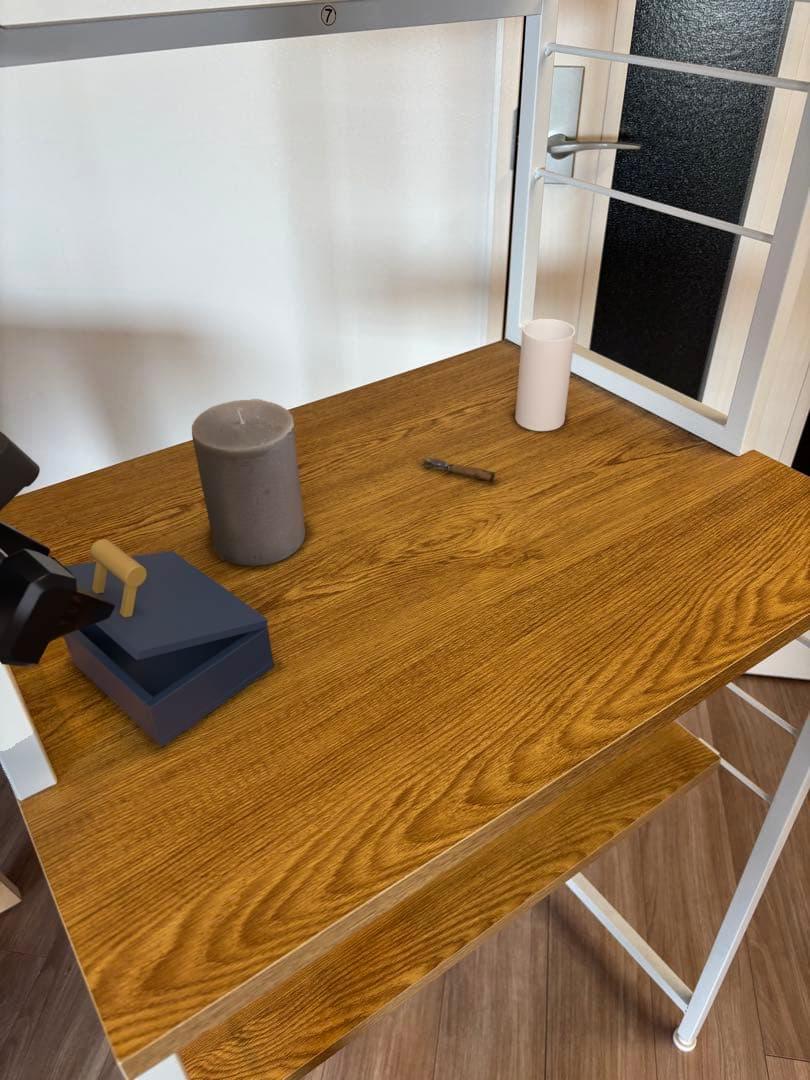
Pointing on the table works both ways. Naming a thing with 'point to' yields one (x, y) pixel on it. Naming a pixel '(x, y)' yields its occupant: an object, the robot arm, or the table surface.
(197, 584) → the lid
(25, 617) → the robot arm
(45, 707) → the table surface
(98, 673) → the chest
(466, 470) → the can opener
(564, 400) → the cup
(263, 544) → the pillar candle
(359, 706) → the table surface
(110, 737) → the table surface
